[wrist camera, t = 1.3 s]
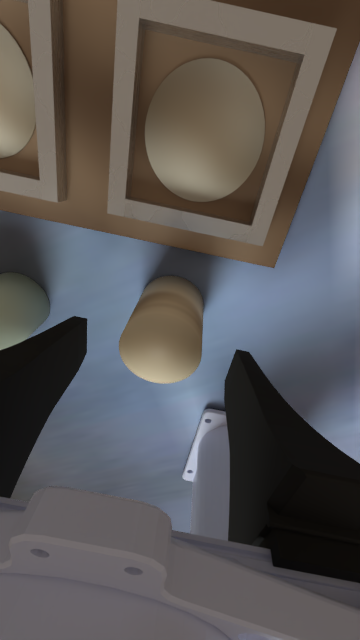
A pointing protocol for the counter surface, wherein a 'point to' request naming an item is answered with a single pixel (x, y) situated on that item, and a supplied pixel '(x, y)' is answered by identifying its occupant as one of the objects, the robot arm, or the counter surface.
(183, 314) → the ash peg
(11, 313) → the sage peg
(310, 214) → the counter surface
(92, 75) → the board
